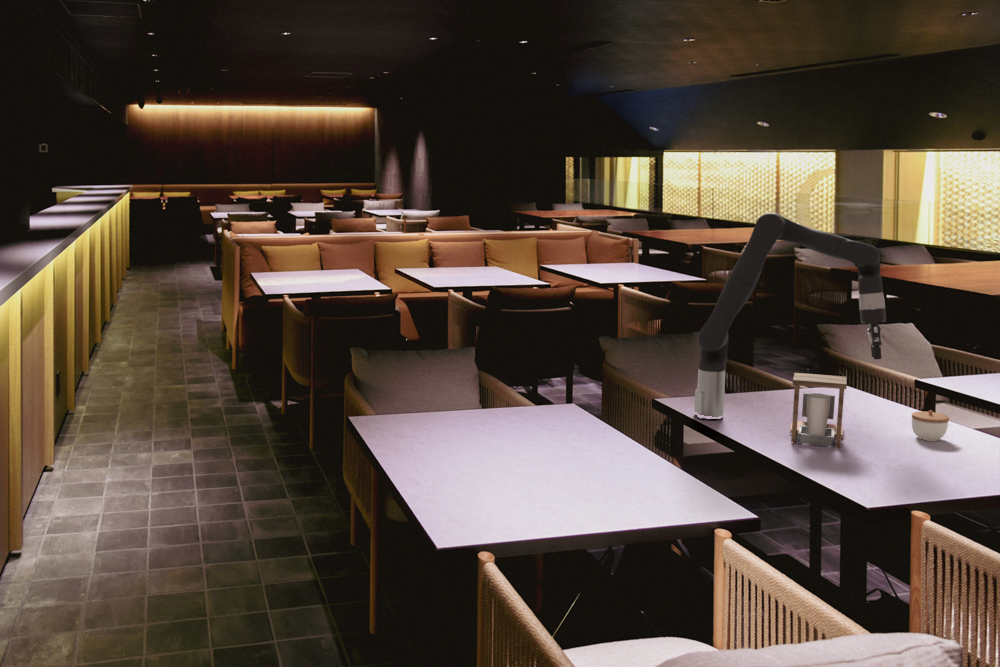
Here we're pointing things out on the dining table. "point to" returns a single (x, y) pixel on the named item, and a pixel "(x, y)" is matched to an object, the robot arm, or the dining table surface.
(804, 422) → the board
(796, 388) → the walnut tunnel
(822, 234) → the robot arm
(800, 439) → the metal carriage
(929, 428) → the lidded jar
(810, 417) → the drinking glass
